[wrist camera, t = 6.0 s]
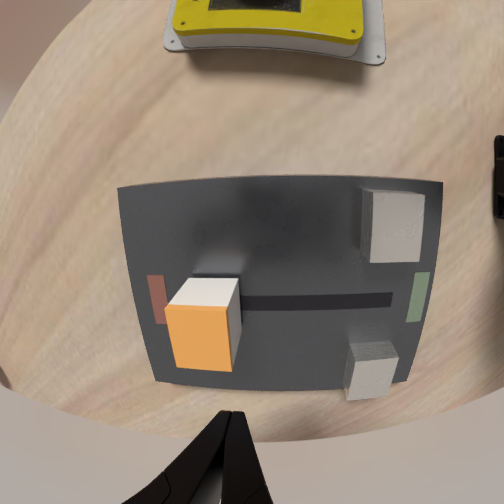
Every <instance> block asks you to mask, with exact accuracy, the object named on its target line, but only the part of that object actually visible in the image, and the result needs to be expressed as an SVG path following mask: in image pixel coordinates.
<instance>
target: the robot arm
mask: <svg viewBox="0 0 504 504" xmlns="http://www.w3.org/2000/svg"><path fill="white" fill-rule="evenodd" d="M500 141H501V143H500ZM495 156H496V183H495V204H494V215H495V217H496V218H499V219H504V136H502V135H497V136H496V137H495ZM499 210H500V212H499ZM220 499H221V504H273V501H272V499H271V496H270V493H269V491H268V487H267V485H266V482H265V479H264V476H263V473H262V469H261V466H260V463H259V460H258V457H257V454H256V451H255V447H254V444H253V441H252V437H251V434H250V430H249V427H248V424H247V420H246V417H245V413H244V412H240V411H233V412H232V411H226V410H221V411H219V412H218V414H217V415H216V416H215V417H214V418H213V419H212V420H211V421H210V422H209V424H208V425H207V426H206V427H205V428H204V429H203V430H202V431H201V432H200V433H199V434H198V436H197V437H196V438H195V439H194V440H193V441H192V442H191V443H190V444H189V445H188V446H187V447H186V448H185V449H184V450H183V451H182V452H181V453H180V455H178V457H177V458H176V459H175V460H174V461H173V462H172V463H171V464H170V465H169V466H168V467H167V468H166V469H165V470H164V471H163V472H161V474H160V475H158V476H157V478H155V479H154V480H153V481H152V482H151V483H150V484H149V485H147V486H146V487H145V488H143V489H142V490H141V491H139V492H138V493H137V494H135V495H134V496H132V497H131V498H129V499H128V500H126V501H125V502H123V503H122V504H219V502H220Z"/></svg>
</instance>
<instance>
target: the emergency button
mask: <svg viewBox="0 0 504 504" xmlns="http://www.w3.org/2000/svg"><path fill="white" fill-rule="evenodd" d="M162 41H163V46H164V47H165V48H167V49H168V50H170V51H183V50H196V49H218V48H249V49H271V50H284V51H295V52H304V53H311V54H318V55H325V56H331V57H337V58H342V59H347V60H352V61H357V62H361V63H366V64H370V65H378V64H380V63H382V62H384V60H385V57H386V49H385V31H384V19H383V8H382V0H171V4H170V8H169V13H168V17H167V21H166V26H165V30H164V35H163V40H162Z"/></svg>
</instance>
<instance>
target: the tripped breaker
mask: <svg viewBox="0 0 504 504" xmlns="http://www.w3.org/2000/svg"><path fill="white" fill-rule="evenodd" d="M164 310H165V315H166V320H167V325H168V330H169V335H170V340H171V344H172V349H173V353H174V357H175V362H176V366H177V367H180V368H189V369H200V370H212V371H227V372H232V369H233V365H234V361H235V357H236V353H237V349H238V344H239V340H240V336H241V332H242V327H241V313H240V298H239V282H238V278H188V279H187V281H186V282H185V283H184V285H183V286H182V287H181V288H180V290H179V291H178V292H177V293H176V295H175V296H174V297H173V299H172V300H171V301H170V302H169V304H168V305H167V306H166V307H165V309H164Z"/></svg>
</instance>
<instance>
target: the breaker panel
mask: <svg viewBox="0 0 504 504" xmlns="http://www.w3.org/2000/svg"><path fill="white" fill-rule="evenodd" d="M117 190H118V200H119V210H120V218H121V226H122V234H123V241H124V247H125V254H126V260H127V265H128V271H129V276H130V282H131V287H132V292H133V296H134V301H135V306H136V310H137V314H138V319H139V323H140V327H141V331H142V335H143V339H144V342H145V346H146V350H147V353H148V357H149V360H150V364H151V367H152V370H153V374H154V377H155V380H156V381H159V382H166V383H173V384H181V385H189V386H199V387H209V388H221V389H236V390H260V391H305V390H329V389H344V391H345V395H346V400H347V401H350V400H360V399H369V398H377V397H384V396H387V394H388V391H389V388H390V385H391V383H397V382H404V381H407V378H408V375H409V372H410V369H411V366H412V363H413V360H414V357H415V353H416V350H417V347H418V343H419V340H420V336H421V332H422V329H423V325H424V321H425V317H426V313H427V308H428V304H429V299H430V294H431V289H432V284H433V278H434V273H435V267H436V260H437V253H438V245H439V237H440V227H441V215H442V199H443V182H437V181H431V180H421V179H409V178H396V177H379V176H356V175H256V176H233V177H216V178H201V179H188V180H177V181H166V182H156V183H147V184H139V185H131V186H125V187H120V188H117ZM188 278H238V282H239V298H240V313H241V327H242V332H241V336H240V340H239V344H238V349H237V353H236V357H235V361H234V365H233V369H232V372H227V371H212V370H200V369H189V368H180V367H177V366H176V362H175V357H174V353H173V349H172V344H171V340H170V335H169V330H168V325H167V320H166V315H165V310H164V309H165V307H166V306H167V305H168V304H169V302H170V301H171V300H172V299H173V297H174V296H175V295H176V293H177V292H178V291H179V290H180V288H181V287H182V286H183V285H184V283H185V282H186V281H187V279H188Z"/></svg>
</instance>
